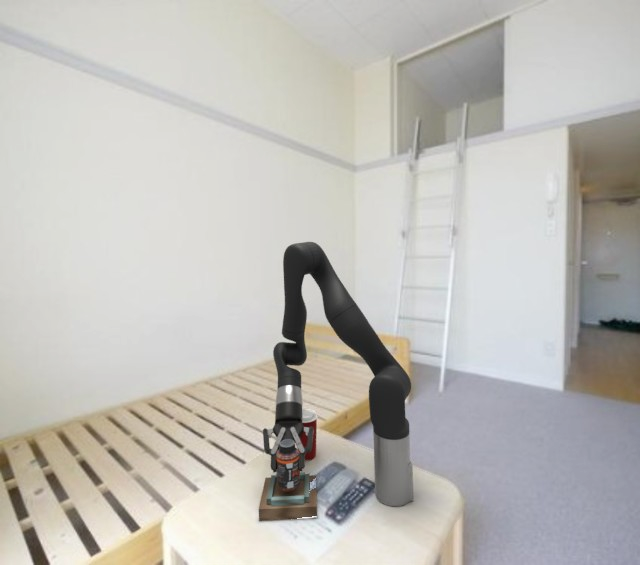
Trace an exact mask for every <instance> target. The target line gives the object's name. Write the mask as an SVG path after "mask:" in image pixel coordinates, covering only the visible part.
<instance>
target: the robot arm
mask: <svg viewBox="0 0 640 565" xmlns="http://www.w3.org/2000/svg"><path fill="white" fill-rule="evenodd" d="M282 258H283V261H282V265H283V266H282V267H283V289H284V291H283V292H284V308H283V309H284V310H283V311H284V312H283V320H282V329H281V335H282V337H283V338H284V339H286V340H288V341H291V342H286V341H280V342H278V343H276V344H275V345H274V347H273V351H272V355H273V359H274V360H273V361H274V364H275V368H276V373H277V387H276V388H277V391H276V397H275V417H274V425H273V428H268V429H267V428H263V430H262V436H263V438H262V439H263V451H264V453H265V455H269V456H270V469H271V470H272V471H273V472H272V473H277V463H276V453H277V451H278V450H279V449H280V448H279V444H280V442H281V441H282V440H285V439H291V440H294V442H295V446H296V448H297V449H299V452H300V454H299V471H300V472H303V469H305V467H306V462H305V461H306V460H305V454H306V453H310V452H311V451H312V443H313V434H314V429H313V427H312V426H311V427H304V426H303V424H302V409H303V405H304V404H303V403H304V402H303V394H302V373H301V372H300V370H298V369H296V368H293V367H291V366H296V367H297V366H298V367H299V366H303V365H304V364H305V363H306V361H307V357H308V353H307V346H306V340H305V332H306V325H307V317H308V312H307V306H306V303H305V300H304V297H303V292H302V290H303V281H304V279H305V276H306V275H310V276H311V277H312V278H313V280H314V282H315V283H316V285H317V287H318V288H319V290H320V293H321V296H322V305H323V310H324V316H325V318H326V320H327V322H328V323H329V326H330V327H331V328H332V330H333V332H335V334H336V336H338V338H339V339H340V340H341V341H342V342H343V343H344V344H345V345H346V346H347V347H349V348H350V349H351V350H352V351H353V352H355V353H356V354H358V355H359V356H360V358H362V359H363V360H364V362H365V363H366V365H367V366H368V367H369V369H370V371H371V373H372V374H373V376H374V377H373V378H372V379H371V380H370V382H369V386H368V406H369V417H370V422H371V424H372V429H373V430H372V431H373V432H372V433H373V434H372V435H373V462H374V463H373V464H374V466H373V467H374V493H375V494H376V495H375V494H374V495H375V497H376V499H377V500H378V501H379V502H380V503H382V504H384V505H386V506H389V507H402V506H404V505H406V504H408V503H409V502H414V479H413V478H414V471H413V470H414V469H413V468H414V467H413V464H412V462H411V444H410V443H411V442H410V440H411V439H410V438H411V437H410V421H409V420H408V419H407V417H406V400H407V398H408V397H409V396H410V394H411V390H412V382H411V381H412V380H411V379H410V376H409V374H408V373H407V371H406V370H405V369H404V368H403V367H402V365H401V364H400V363H399V362H398V361H397V359H396V358H395V357H394V356H393V355H392V354H391V352H390V351H389V350H388V348H387V347H386V346H385V344H384V343H383V342H382V340H381V338H380V337H379V335H378V334H377V333H376V331H375V330H374V328H373V326H372V325H371V324H370V322H369V321H368V319H367V318H366V316H365V315H364V313H363V312H362V310H361V309H360V307H359V305H358V304H357V303H356V301H355V300H354V299H353V297H352V296H351V295H350V293H349V291H348V289H347V288H346V287H345V285H344V283H343V282H342V280H341V279H340V277H339V276H338V275H337V273H336V271H335V269H334V267H333V266H332V264H331V261H330V260H329V258H328V256H327V255H326V253H325V251H324V249H323V248H322V247H321V245H319V244H318V243H317V242H313V241H303V242H299V243H297V242H296V243H292V244H290V245H288V246H287V247H286V248H285V251H284V253H283V257H282ZM289 366H290V367H289ZM303 432H306V436H308V441H307V447H304V448H303V445H302V443H301V441H300V439H299V438H300V437H301V435H302V434H303ZM272 435H274V436H275V437H276V439H275V441H274V444H273V445H272V448H270V439H271V438H272Z"/></svg>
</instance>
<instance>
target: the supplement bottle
mask: <svg viewBox="0 0 640 565" xmlns="http://www.w3.org/2000/svg"><path fill="white" fill-rule="evenodd" d="M279 448H280V449H279V450H278V451H277V453H276V463H277V472H276V474H277V483H278V488H279V489H281V490H283V491H293V490H295V489H297V488H298V487H299V485H300V473H301V471H299V451H298V447H296V443H295V442H294V440H291V439H285V440H282V441H281V442H280V444H279Z"/></svg>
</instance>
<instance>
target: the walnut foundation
mask: <svg viewBox="0 0 640 565" xmlns="http://www.w3.org/2000/svg"><path fill="white" fill-rule="evenodd" d="M310 474H311V473H306V472H304V471H301V472H300V485H299V487H298V488H297V489H295V490H293V491H283V490H281V489H279V488H278V483H277V473H275V474H273V475H272V474H271V475H270V477H265V478H264V479H265V480H264V482H263V488H262V491H261V492H262V493H261V496H260V501H259V504H258V505H259V506H258V522H270V521H271V522H272V521H286V520H287V521H288V520H291V519H292V520H298V519H297V518H302V517H312V516H317V517H318V493H317V492H318V491H317V492H316V488H314V489H312V490H311V491H309V490H310V482H312V481H313V479H315V478H316V479H317V475H313V474H312V475H310ZM309 492H310V493H309Z"/></svg>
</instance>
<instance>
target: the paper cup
mask: <svg viewBox="0 0 640 565" xmlns="http://www.w3.org/2000/svg"><path fill="white" fill-rule="evenodd" d="M318 417H319V416H318V414H317V411H316V410H314V409H312V408H302V424H303V426H304V427H311V426H312V427H313V429H314V434H313V443H312V451H311V452H310V453H306V454H305V461H312V460H313V459H315V457H316V456H317V427H318V426H317V420H318ZM299 439H300V441H301V443H302V445H303V448H304V447H307V441H308V436H306V432H303V434H302V435H301V437H300V438H299ZM297 449H298V448H297ZM298 451H299V449H298ZM299 454H300V452H299Z"/></svg>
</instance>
